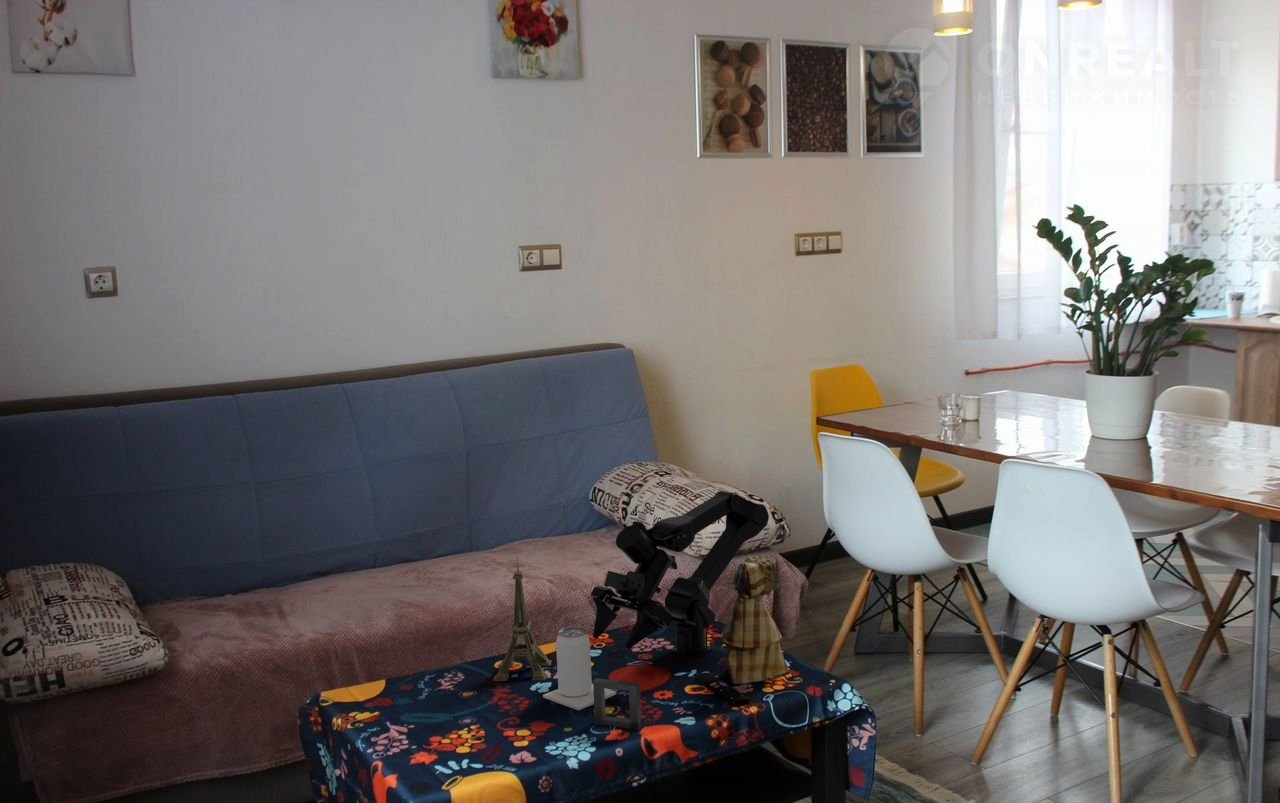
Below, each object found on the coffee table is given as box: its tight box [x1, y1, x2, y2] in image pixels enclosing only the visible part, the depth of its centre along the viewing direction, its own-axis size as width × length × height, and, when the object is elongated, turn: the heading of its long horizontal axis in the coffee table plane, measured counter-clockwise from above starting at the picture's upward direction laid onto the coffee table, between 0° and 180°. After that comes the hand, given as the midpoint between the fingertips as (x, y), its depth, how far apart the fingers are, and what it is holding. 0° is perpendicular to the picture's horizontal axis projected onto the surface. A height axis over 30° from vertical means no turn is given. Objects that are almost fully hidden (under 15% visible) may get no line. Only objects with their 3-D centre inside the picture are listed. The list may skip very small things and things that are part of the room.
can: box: [555, 626, 593, 697], centre depth 220 cm, size 6×6×12 cm
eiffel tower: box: [492, 555, 553, 682], centre depth 233 cm, size 11×11×25 cm
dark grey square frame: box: [592, 677, 642, 730], centre depth 206 cm, size 2×8×8 cm, turn 68°
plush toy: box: [719, 555, 790, 685], centre depth 227 cm, size 14×14×25 cm
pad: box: [542, 683, 617, 711], centre depth 220 cm, size 10×10×1 cm
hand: (610, 643), depth 225 cm, fingers open, 9 cm apart
